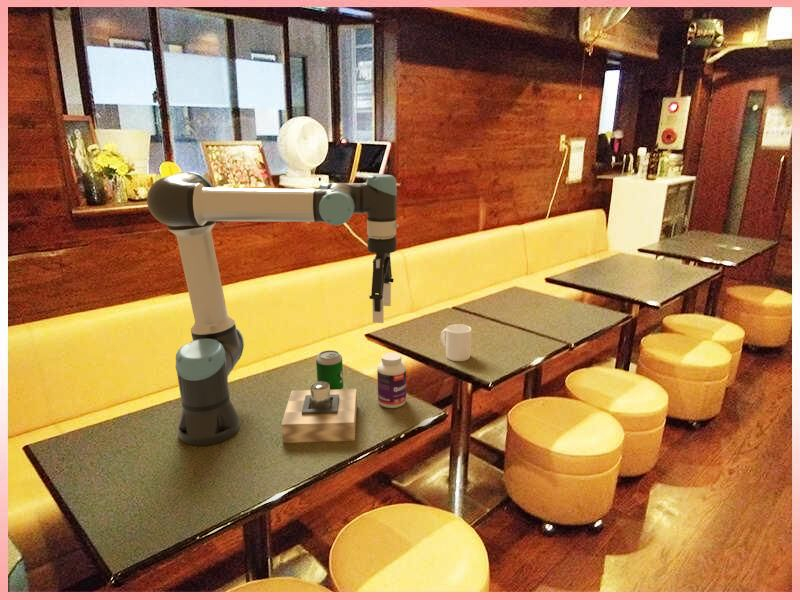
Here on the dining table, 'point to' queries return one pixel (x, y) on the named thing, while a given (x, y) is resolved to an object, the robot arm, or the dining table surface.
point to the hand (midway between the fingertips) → (382, 313)
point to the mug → (457, 342)
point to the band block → (320, 418)
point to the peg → (320, 395)
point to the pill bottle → (391, 381)
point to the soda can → (330, 369)
